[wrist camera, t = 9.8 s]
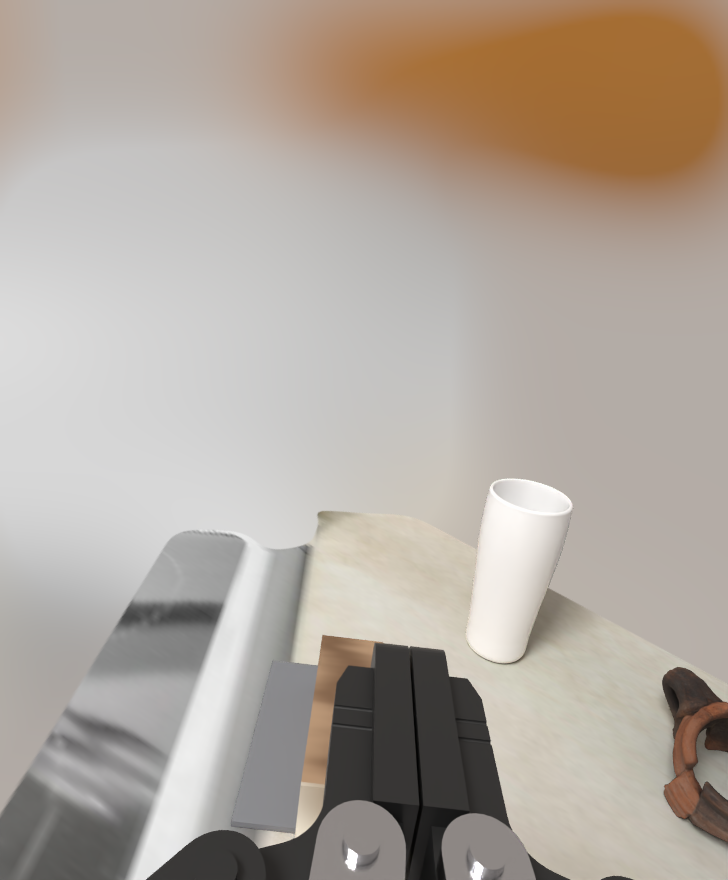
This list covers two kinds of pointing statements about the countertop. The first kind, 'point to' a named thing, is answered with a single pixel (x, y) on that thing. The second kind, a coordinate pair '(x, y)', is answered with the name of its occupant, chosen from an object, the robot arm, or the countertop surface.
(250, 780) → the mat
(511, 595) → the drinking glass
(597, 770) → the countertop surface
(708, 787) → the brown jagged ring
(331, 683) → the plain brown block
